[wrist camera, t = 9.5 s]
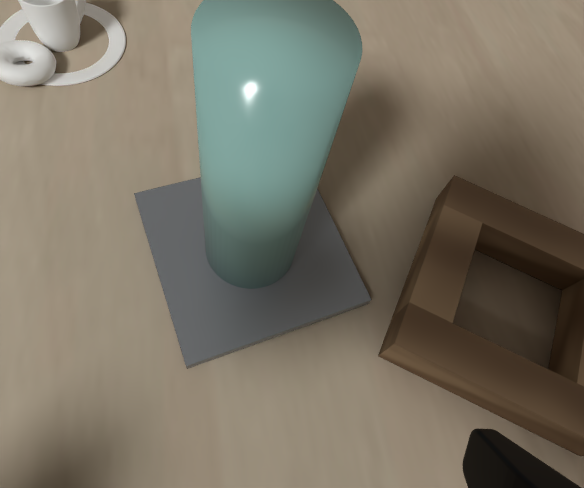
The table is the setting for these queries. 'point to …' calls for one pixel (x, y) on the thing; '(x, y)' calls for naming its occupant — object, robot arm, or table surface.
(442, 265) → the pocket block
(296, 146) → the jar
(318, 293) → the coaster
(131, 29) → the table surface
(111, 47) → the teacup and saucer
